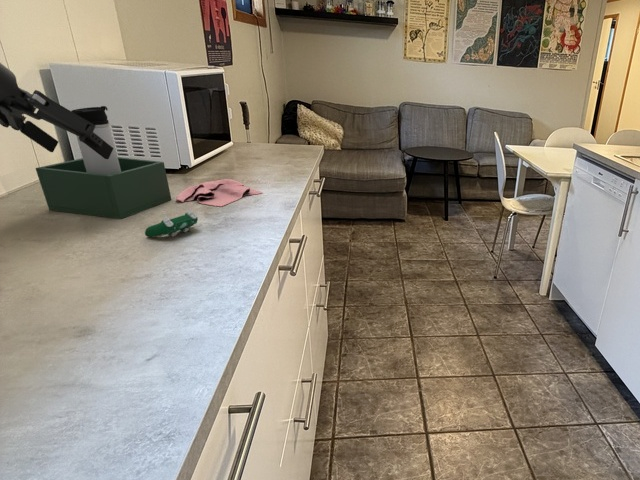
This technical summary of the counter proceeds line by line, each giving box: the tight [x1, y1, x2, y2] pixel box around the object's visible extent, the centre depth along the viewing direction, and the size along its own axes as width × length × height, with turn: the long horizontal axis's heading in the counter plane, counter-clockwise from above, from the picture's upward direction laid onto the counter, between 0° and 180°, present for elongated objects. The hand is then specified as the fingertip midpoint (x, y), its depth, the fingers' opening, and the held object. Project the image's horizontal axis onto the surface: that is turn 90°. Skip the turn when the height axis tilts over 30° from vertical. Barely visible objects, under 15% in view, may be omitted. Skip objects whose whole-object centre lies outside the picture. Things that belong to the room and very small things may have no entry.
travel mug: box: [71, 105, 121, 175], centre depth 103 cm, size 6×7×20 cm
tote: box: [35, 156, 172, 220], centre depth 106 cm, size 17×16×9 cm
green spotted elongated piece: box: [144, 209, 198, 238], centre depth 94 cm, size 9×4×6 cm
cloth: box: [175, 178, 264, 208], centre depth 120 cm, size 20×22×2 cm
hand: (81, 150), depth 98 cm, fingers open, 13 cm apart
